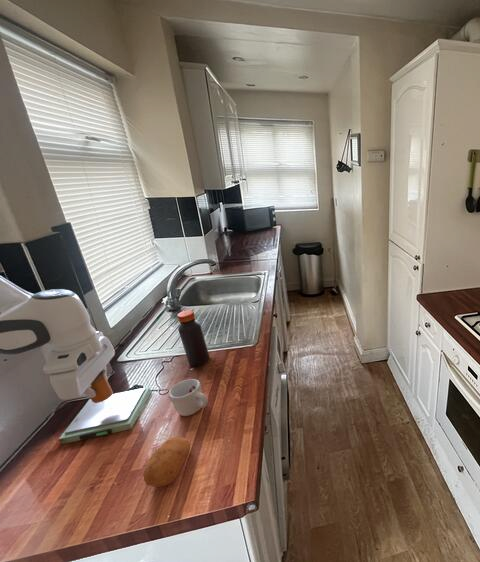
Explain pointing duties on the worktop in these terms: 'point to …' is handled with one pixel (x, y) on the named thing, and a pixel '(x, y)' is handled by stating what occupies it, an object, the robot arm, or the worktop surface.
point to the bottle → (192, 339)
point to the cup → (187, 397)
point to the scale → (107, 415)
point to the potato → (166, 462)
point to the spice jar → (101, 388)
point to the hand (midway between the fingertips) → (98, 388)
